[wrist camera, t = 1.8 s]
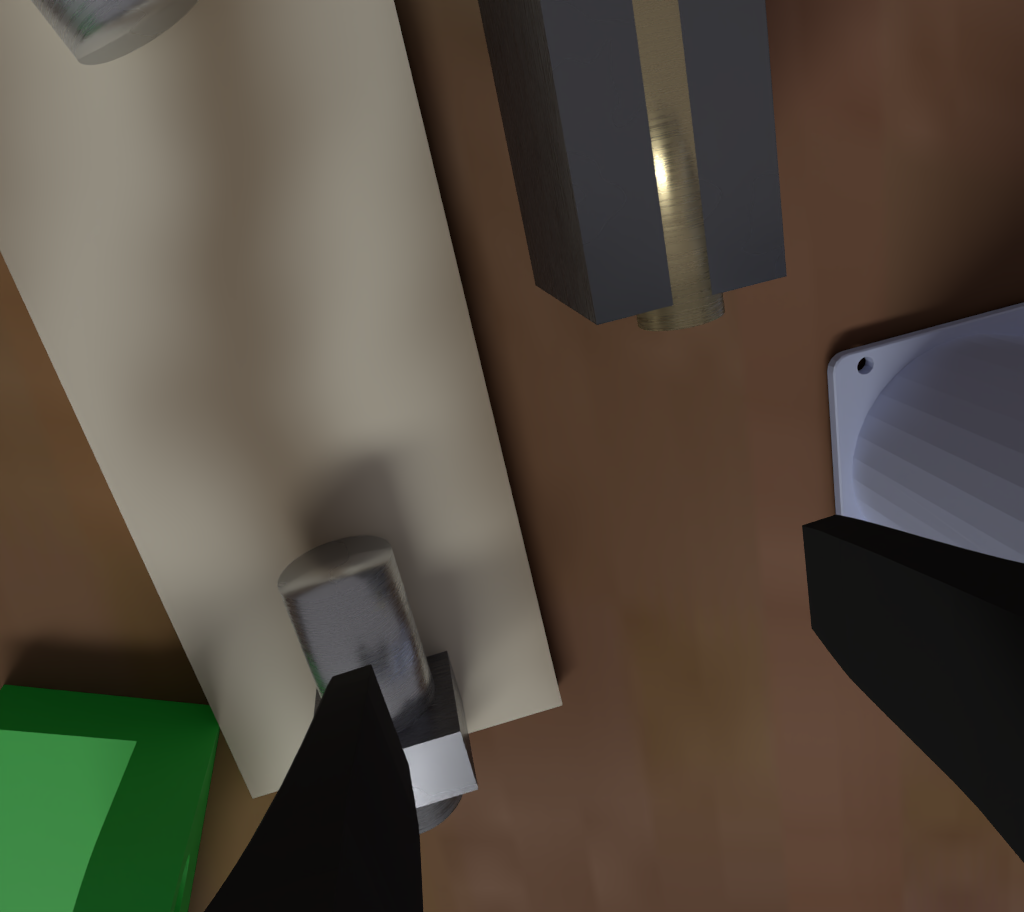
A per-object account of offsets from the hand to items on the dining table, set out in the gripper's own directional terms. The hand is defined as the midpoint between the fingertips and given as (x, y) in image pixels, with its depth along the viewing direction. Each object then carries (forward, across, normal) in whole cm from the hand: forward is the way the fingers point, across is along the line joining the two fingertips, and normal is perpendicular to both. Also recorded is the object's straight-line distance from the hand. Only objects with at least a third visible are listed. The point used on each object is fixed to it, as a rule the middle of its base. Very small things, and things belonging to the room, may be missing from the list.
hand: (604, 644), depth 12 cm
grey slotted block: (+10, -4, -8) cm, 14 cm away
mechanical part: (+11, +15, +10) cm, 21 cm away
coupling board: (+11, +5, -5) cm, 13 cm away
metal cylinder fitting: (+10, +5, +5) cm, 13 cm away
